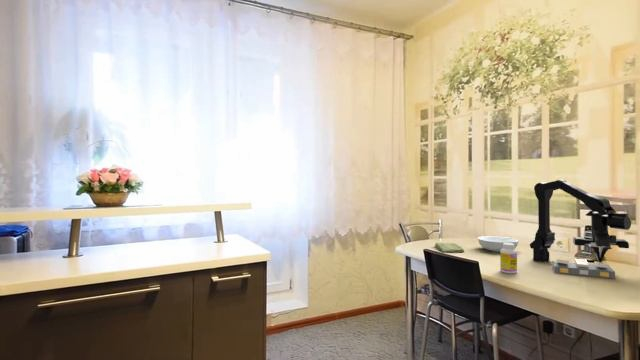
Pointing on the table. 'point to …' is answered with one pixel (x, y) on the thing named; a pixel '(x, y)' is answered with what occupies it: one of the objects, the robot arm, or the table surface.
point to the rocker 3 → (601, 264)
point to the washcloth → (449, 247)
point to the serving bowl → (495, 242)
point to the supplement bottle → (508, 258)
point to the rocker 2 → (581, 262)
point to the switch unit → (583, 270)
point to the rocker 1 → (562, 261)
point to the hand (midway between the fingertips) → (599, 261)
